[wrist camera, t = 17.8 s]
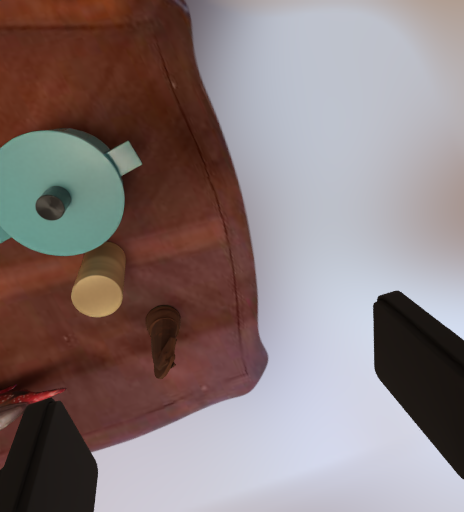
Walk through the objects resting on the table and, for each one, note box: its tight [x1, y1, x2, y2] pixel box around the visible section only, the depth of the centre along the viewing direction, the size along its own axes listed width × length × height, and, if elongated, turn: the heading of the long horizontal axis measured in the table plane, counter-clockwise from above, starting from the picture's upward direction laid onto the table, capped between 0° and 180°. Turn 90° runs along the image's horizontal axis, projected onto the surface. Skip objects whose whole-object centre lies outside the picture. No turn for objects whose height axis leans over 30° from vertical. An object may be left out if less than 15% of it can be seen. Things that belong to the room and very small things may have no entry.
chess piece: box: [146, 306, 180, 379], centre depth 45 cm, size 5×5×10 cm
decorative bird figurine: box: [0, 384, 66, 430], centre depth 44 cm, size 3×18×10 cm, turn 112°
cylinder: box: [71, 242, 126, 317], centre depth 40 cm, size 5×5×9 cm
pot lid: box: [0, 130, 125, 256], centre depth 31 cm, size 11×11×4 cm
